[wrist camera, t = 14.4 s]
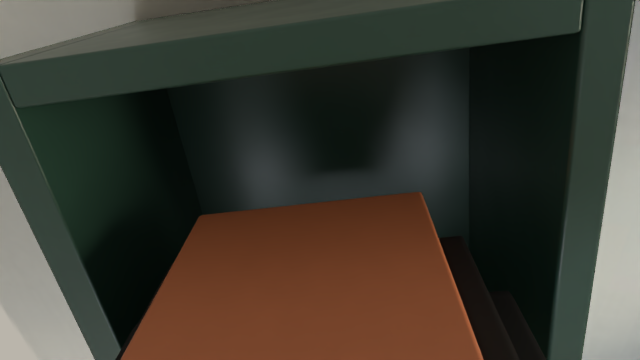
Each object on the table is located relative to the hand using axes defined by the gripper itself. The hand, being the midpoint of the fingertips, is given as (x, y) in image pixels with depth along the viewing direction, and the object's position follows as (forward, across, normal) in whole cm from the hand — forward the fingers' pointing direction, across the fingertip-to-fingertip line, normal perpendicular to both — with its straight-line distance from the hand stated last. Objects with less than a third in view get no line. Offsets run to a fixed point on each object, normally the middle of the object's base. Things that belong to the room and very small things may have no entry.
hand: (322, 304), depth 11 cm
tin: (+7, 0, 0) cm, 7 cm away
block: (+1, 0, 0) cm, 1 cm away
